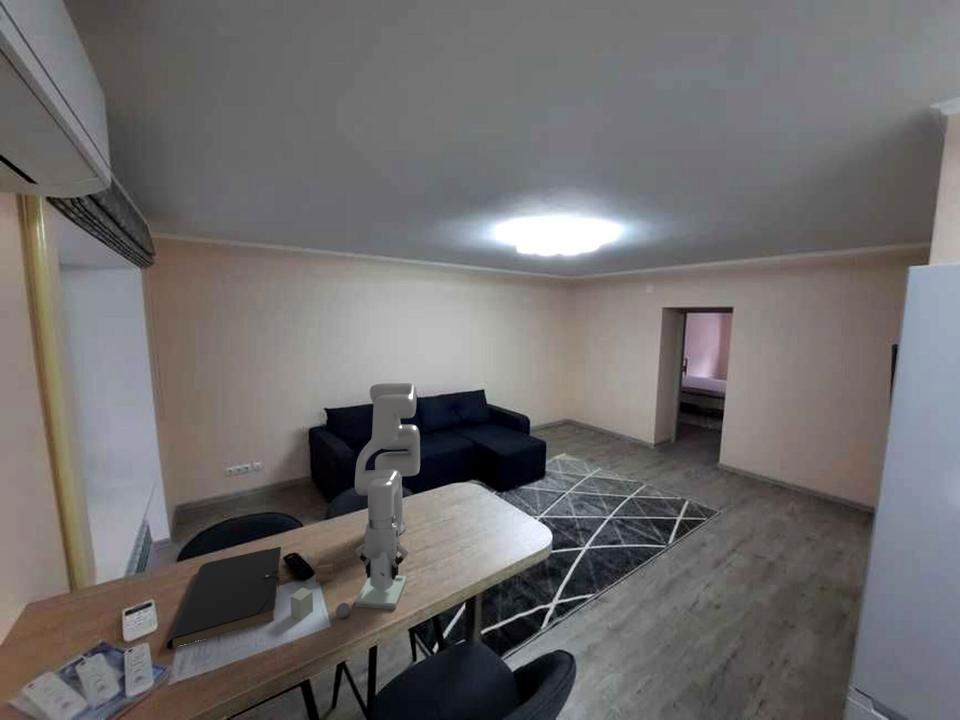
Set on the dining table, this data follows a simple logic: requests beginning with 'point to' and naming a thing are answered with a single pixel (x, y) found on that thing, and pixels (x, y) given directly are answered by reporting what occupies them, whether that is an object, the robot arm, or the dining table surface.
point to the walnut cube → (325, 569)
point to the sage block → (301, 603)
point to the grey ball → (342, 610)
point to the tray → (381, 595)
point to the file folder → (229, 597)
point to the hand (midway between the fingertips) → (382, 575)
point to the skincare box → (381, 573)
